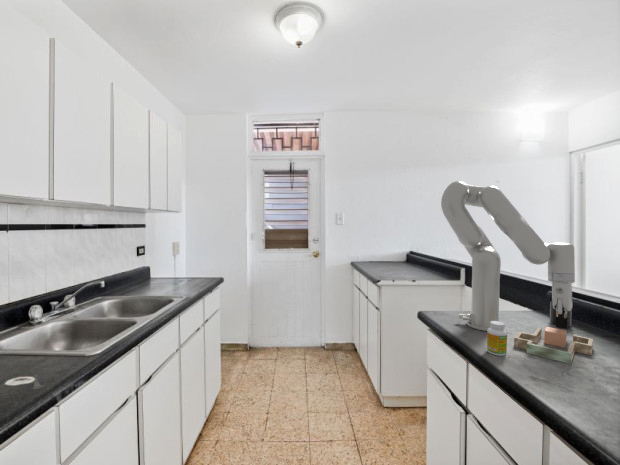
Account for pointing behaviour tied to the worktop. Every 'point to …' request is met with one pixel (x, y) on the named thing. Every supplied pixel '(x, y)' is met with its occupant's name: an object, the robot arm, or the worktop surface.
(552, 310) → the supplement bottle
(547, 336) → the terracotta block
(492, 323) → the supplement bottle
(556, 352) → the trap lane
